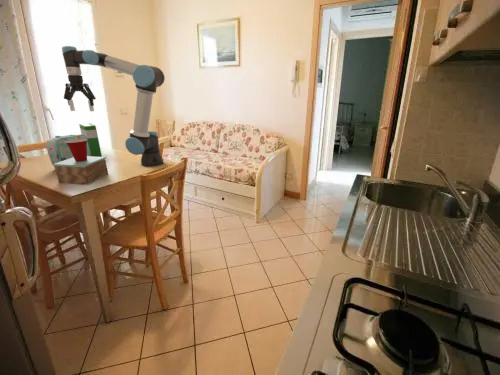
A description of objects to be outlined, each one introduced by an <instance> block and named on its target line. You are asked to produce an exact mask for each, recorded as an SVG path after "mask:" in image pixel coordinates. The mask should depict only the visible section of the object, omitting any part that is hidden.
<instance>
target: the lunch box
mask: <svg viewBox="0 0 500 375" xmlns="http://www.w3.org/2000/svg"><path fill="white" fill-rule="evenodd" d="M78 139H87V138H86V136H85V135H82V134H81V133H80V134H67V135H62V136H61V135H55V136H54V137H51V138H49V139H48V140H46V142H45V147H46V151H47V153H48V156H49V160H50V162H51V164H52V166H53V164H55V163H58V162H61V161H64V160H67V159H70V158H73V155H72V153H71V151H70V149H69V147H68V145H67V144H66V143H65V141H70V140H78ZM87 156H91V151H90V148H89V144H88V140H87Z"/></svg>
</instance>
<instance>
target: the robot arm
mask: <svg viewBox="0 0 500 375" xmlns="http://www.w3.org/2000/svg"><path fill="white" fill-rule="evenodd" d="M61 52H62V57H63V61H64V64H65V65H64V66H65V68H66V69H65V70H66V74H67V78H68V83H65V84H64V85H65V89H64V95H63V99H65V100H66V101H67V104H68V106H69V109H70V112H73V111H75V112H76V108H75V103H74V101H73V98H74V95H75V93H76V92H81V93H82V94H83V95H84V96H85V97H86V98H87V99H88V101H87V102H88V107H89V112H95V108H94V106H95V103H94V101H95V100H96V99H97V98H96V96H95V95H94V93H93V91H92V90H91V88H90V85H89V83H84V79H83V74H82V69H81V65H91V66H99V67H103V68H106V69H110V70H112V71H116V72H119V73H122V74H125V75H129V76H132V79H133V81H134V83H135V85H134V86H135V89H136V91H137V94H136V102H135V112H134V119H133V126H132V127H133V128H132V129H131V130H130V132H129V137H128V138H126V140H125V142H124V143H125V144H124V145H125V148H126V150H127V152H129V154H132V155H134V156H138V155H141V159H140V164H141V166H143V167H156V166H161V165H163V164H164V159H163V156H162V154H161V152H160V145H159V144H160V142H159V136H158V132H157V131H154V130H153V131H149V125H150V120H151V119H150V118H151V110H152V103H153V95H154V94H156V93H157V88H158V87H159V88H160V87H161V86H162V85H164V83H165V75H164V72H163V71H162V70H161V68H159V67H157V66H152V65H146V64H141V65H140V64H137V63H134V62H130V61H127V60H124V59H120V58H118V57H115V56H111V55H108V54H106V53H102V52H97V51H94V50H93V49H83V50H82V49H79V50H78V49H77V48H76V47H75V46H73V45H72V46H71V45H63V46H61Z"/></svg>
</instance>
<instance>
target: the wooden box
mask: <svg viewBox="0 0 500 375" xmlns="http://www.w3.org/2000/svg"><path fill="white" fill-rule="evenodd" d="M53 167H54V170H55V173H56V178H57V182H58V183H59V184H69V185H71V184H73V185H85V186H87V185H90V184H92V183H94V182H97V181H98V180H101V179H103V178H104V177H108V176H109V172H108V165H107V161H106V159H104V160H101V161H99V162H96V163H94V164H91V165H89V166H86V167H67V166H53Z"/></svg>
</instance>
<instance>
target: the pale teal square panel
mask: <svg viewBox="0 0 500 375" xmlns="http://www.w3.org/2000/svg"><path fill="white" fill-rule="evenodd" d="M104 159H105V160H106V159H107V157H106V156H101V157H94V156H87V160H86V161H81V162H76V161H75V159H74V157H73V158H70V159H67V160H64V161H61V162H58V163H55V164H53V165H52V167H54V166H67V167H86V166H89V165H91V164H94V163H96V162H99V161H101V160H104Z"/></svg>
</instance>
